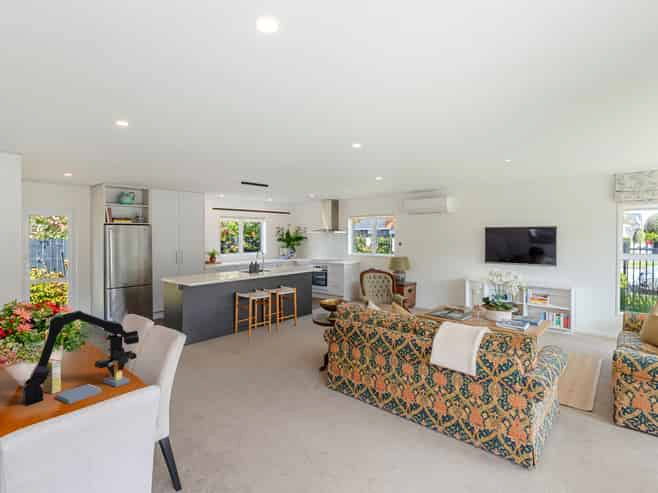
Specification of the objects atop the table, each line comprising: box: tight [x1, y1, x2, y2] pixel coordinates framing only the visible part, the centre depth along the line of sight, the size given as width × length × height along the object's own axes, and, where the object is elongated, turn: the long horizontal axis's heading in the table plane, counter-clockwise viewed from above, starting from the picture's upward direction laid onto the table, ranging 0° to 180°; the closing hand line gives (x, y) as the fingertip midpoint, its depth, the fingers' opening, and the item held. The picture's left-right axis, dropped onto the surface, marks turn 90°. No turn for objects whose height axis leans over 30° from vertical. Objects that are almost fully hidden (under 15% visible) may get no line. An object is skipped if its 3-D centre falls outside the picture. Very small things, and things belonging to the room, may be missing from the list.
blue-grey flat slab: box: [55, 383, 102, 405], centre depth 168 cm, size 14×12×2 cm
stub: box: [102, 368, 131, 388], centre depth 183 cm, size 7×12×6 cm, turn 60°
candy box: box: [41, 358, 62, 395], centre depth 173 cm, size 9×4×15 cm, turn 66°
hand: (116, 376), depth 183 cm, fingers closed on stub, 3 cm apart
